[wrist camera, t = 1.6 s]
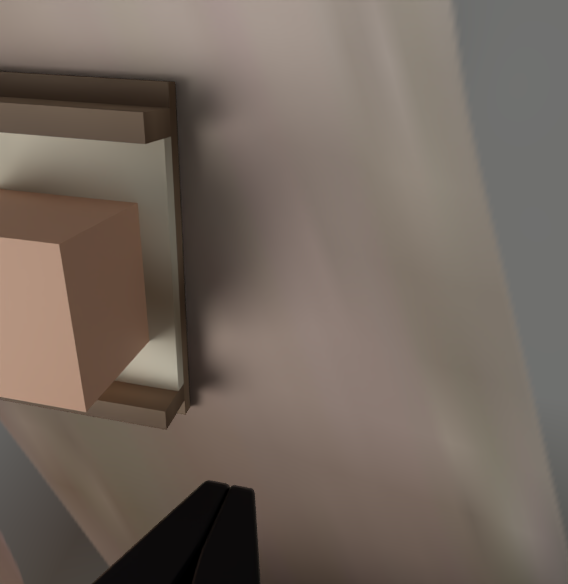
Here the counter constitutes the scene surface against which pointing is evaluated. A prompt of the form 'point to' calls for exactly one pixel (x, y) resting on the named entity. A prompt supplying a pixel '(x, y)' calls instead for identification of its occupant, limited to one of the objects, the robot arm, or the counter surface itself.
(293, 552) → the counter surface
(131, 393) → the trap lane
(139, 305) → the terracotta block
